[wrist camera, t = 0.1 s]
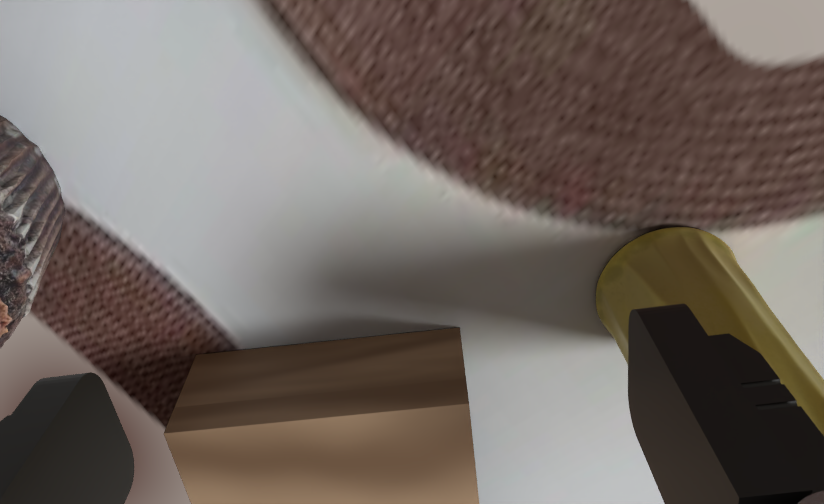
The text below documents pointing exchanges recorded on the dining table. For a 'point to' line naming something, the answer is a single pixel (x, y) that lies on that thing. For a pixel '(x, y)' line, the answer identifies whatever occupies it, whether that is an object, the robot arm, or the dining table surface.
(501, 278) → the dining table surface
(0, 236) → the cupcake
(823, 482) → the robot arm
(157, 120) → the dining table surface
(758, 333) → the vase
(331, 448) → the walnut shelf
